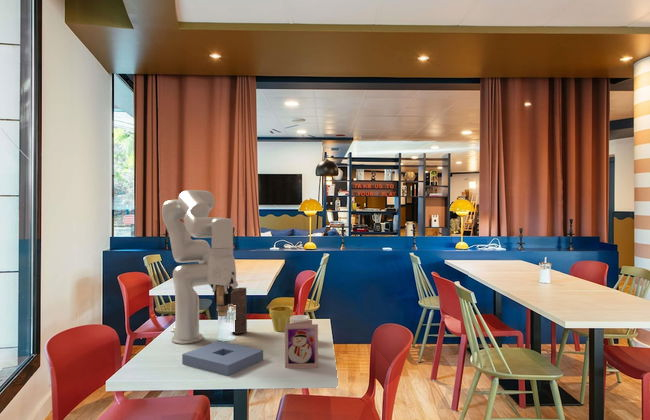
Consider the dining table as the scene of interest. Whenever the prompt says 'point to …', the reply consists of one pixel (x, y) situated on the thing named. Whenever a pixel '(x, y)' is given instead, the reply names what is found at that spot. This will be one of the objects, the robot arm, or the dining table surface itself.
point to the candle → (240, 309)
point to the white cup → (298, 318)
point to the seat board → (222, 357)
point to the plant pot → (280, 317)
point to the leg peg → (221, 301)
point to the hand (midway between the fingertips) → (222, 303)
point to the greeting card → (301, 345)
